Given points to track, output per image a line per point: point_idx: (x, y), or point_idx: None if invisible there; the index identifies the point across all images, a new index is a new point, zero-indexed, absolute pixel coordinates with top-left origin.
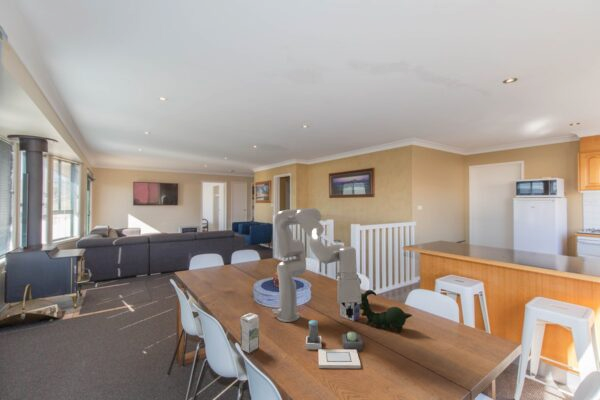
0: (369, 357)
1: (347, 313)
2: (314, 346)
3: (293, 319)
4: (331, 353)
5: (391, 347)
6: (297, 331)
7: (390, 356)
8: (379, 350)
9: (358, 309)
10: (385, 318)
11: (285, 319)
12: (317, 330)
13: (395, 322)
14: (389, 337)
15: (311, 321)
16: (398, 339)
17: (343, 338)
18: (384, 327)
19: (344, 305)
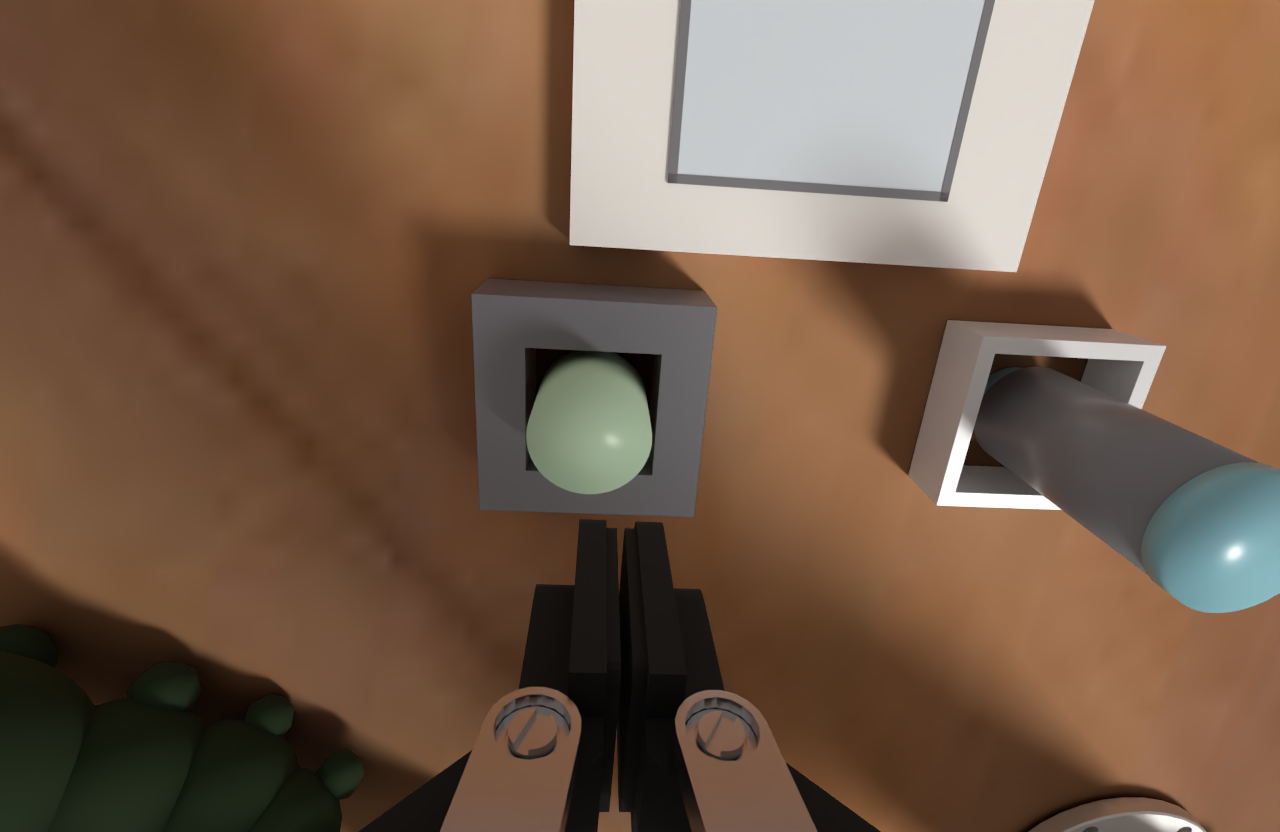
0: (431, 121)
1: (678, 612)
2: (1044, 331)
3: (1085, 825)
4: (893, 162)
5: (141, 327)
6: (1086, 654)
7: (166, 128)
8: (291, 270)
9: None
10: (81, 770)
11: (1159, 825)
12: (1095, 458)
13: None
14: (151, 527)
15: (1264, 568)
16: (49, 486)
17: (696, 422)
18: (172, 674)
19: (810, 812)
